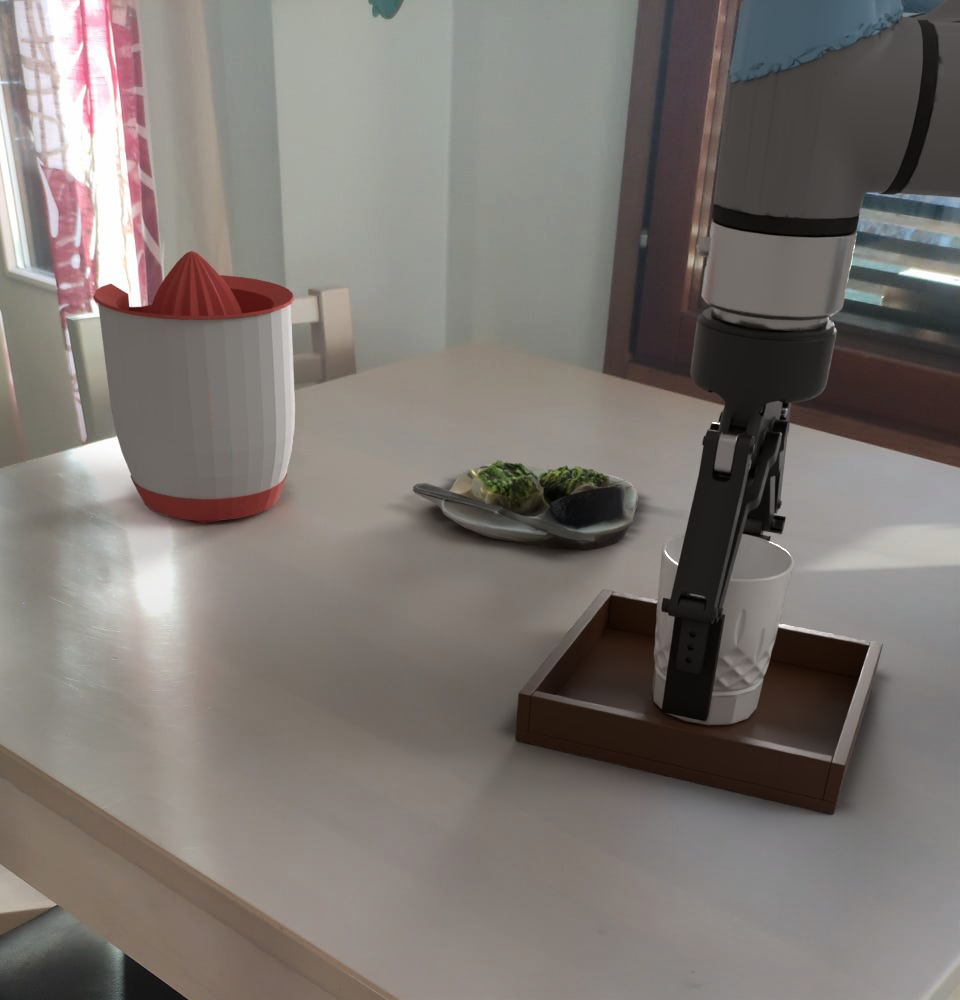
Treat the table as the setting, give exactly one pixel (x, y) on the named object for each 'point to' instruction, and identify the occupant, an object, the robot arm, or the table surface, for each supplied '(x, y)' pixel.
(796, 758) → the tray
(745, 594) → the white cup
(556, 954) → the table surface
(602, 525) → the salad plate
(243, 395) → the citrus juicer
